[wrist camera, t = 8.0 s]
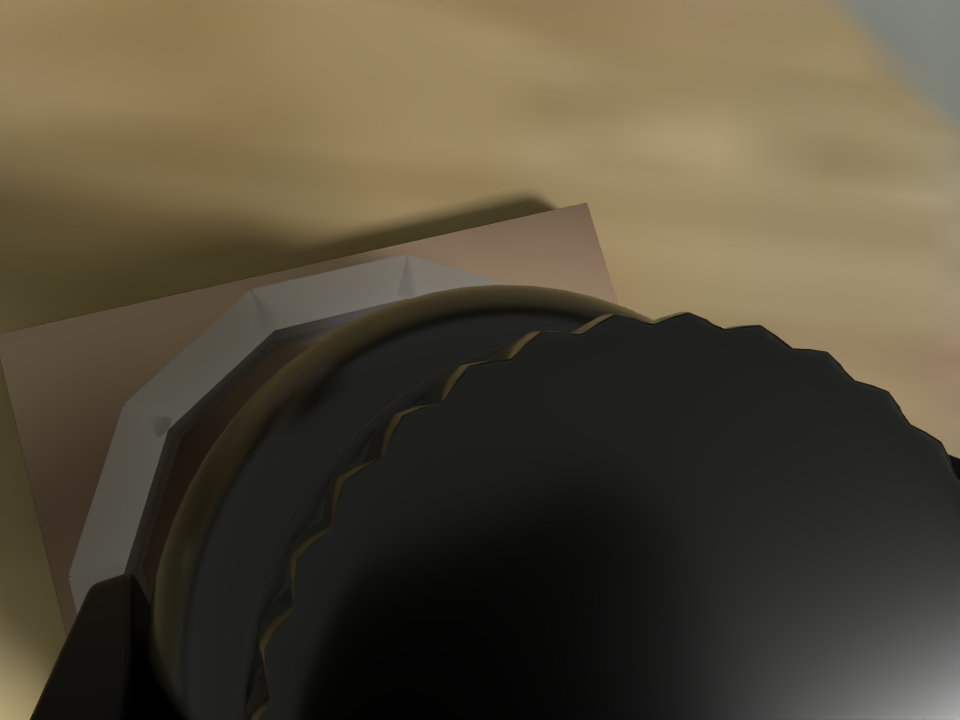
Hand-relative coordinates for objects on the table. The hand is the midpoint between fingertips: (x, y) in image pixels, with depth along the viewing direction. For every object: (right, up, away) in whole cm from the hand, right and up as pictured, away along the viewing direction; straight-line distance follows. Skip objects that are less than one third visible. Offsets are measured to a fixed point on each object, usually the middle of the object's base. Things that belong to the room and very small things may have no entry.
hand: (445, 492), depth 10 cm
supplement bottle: (-1, -2, +6) cm, 7 cm away
